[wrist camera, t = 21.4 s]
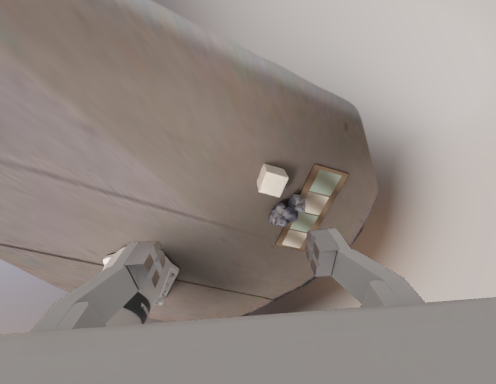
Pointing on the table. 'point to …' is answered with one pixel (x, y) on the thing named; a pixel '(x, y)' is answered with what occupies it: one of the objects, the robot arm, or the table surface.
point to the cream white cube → (272, 180)
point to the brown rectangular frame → (312, 205)
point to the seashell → (287, 211)
